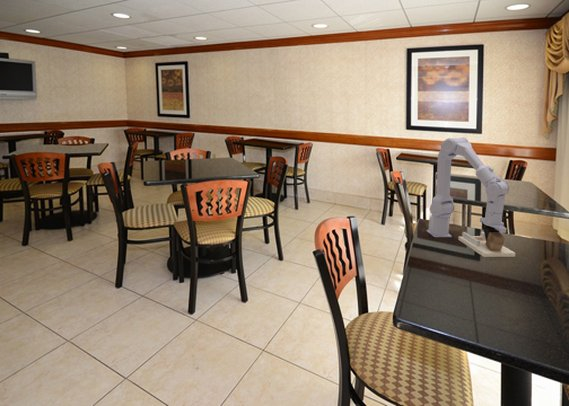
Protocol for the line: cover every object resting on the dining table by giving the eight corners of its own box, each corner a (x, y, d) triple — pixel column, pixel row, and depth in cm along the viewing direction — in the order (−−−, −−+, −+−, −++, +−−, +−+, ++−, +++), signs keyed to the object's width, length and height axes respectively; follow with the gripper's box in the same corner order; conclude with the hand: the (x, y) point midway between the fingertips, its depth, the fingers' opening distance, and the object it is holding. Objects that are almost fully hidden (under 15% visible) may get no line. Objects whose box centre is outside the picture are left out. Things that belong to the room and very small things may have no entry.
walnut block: (485, 244, 140) (489, 232, 137) (495, 244, 140) (499, 232, 137) (490, 250, 136) (494, 238, 134) (500, 250, 136) (505, 238, 134)
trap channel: (458, 239, 154) (459, 231, 153) (485, 239, 154) (486, 231, 153) (483, 257, 134) (484, 248, 134) (515, 256, 134) (516, 248, 134)
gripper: (516, 216, 130) (511, 251, 134) (493, 207, 145) (489, 238, 148) (497, 216, 130) (492, 251, 134) (476, 207, 145) (472, 238, 148)
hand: (489, 244), depth 141 cm, fingers closed
